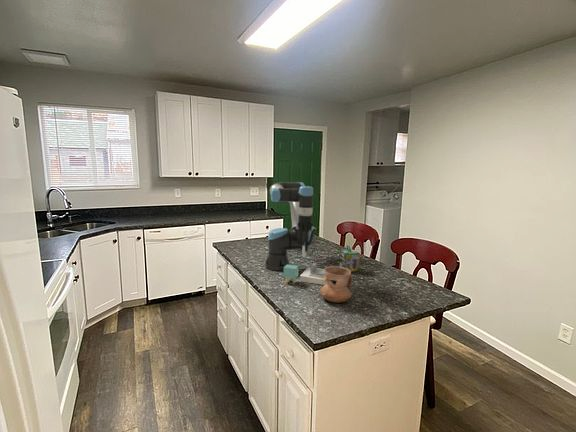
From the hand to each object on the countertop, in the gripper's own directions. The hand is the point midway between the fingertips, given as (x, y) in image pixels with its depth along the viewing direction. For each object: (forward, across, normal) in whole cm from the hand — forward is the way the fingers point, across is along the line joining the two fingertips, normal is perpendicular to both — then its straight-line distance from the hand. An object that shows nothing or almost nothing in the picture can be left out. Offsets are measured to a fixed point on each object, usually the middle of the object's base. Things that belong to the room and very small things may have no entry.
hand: (304, 256), depth 172 cm
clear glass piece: (+8, +9, 0) cm, 12 cm away
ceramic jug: (+12, +23, -21) cm, 34 cm away
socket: (+12, +10, 0) cm, 15 cm away
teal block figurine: (+12, -4, -11) cm, 16 cm away
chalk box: (+12, +22, +23) cm, 33 cm away
